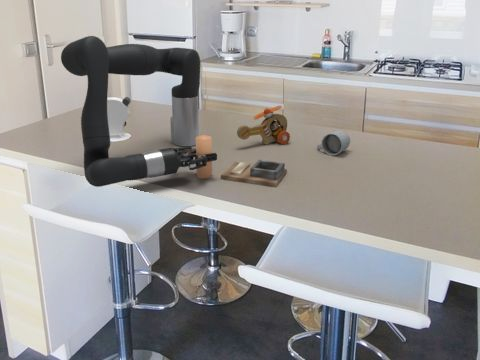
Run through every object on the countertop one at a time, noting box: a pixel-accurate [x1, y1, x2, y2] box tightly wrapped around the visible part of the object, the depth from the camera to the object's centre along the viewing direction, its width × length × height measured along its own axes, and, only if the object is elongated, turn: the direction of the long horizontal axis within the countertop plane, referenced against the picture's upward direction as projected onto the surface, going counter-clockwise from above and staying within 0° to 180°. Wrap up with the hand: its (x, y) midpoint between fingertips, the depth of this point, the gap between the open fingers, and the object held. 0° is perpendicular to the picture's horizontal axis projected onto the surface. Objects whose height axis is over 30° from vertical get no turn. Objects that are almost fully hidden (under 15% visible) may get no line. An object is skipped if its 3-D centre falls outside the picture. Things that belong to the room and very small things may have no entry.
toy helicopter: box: [236, 105, 291, 146], centre depth 172 cm, size 8×21×14 cm, turn 123°
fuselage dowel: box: [195, 134, 213, 180], centre depth 144 cm, size 5×5×12 cm
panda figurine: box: [107, 96, 132, 143], centre depth 178 cm, size 12×11×15 cm
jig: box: [220, 159, 288, 188], centre depth 146 cm, size 17×12×4 cm
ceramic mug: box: [316, 130, 351, 156], centre depth 167 cm, size 11×8×8 cm
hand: (211, 153), depth 145 cm, fingers open, 5 cm apart
